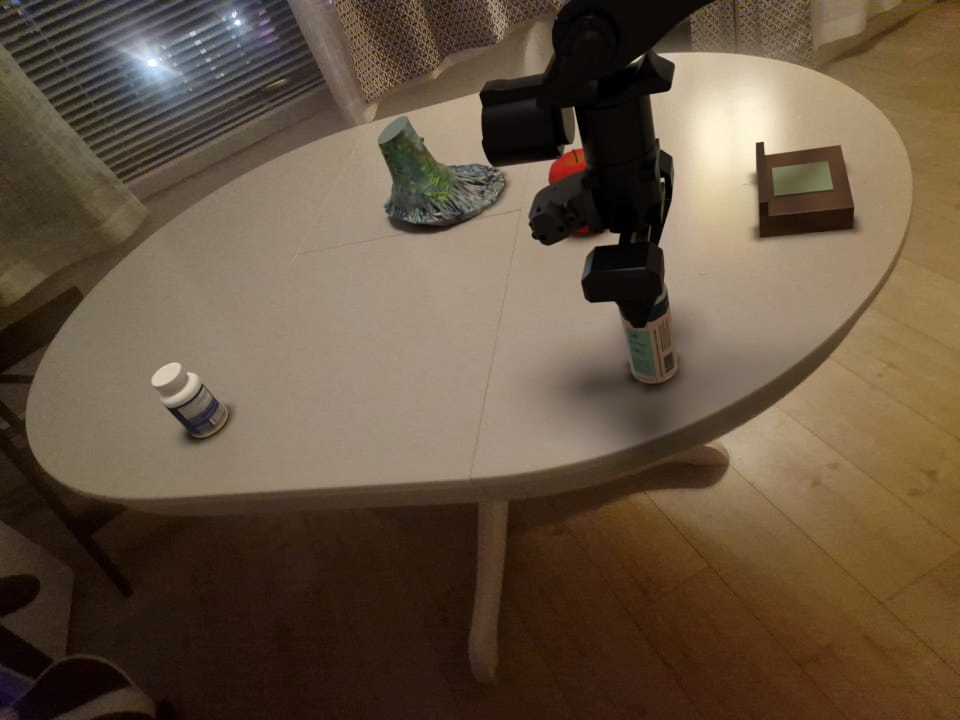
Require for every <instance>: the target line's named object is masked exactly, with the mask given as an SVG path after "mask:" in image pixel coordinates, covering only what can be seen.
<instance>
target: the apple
mask: <svg viewBox="0 0 960 720" xmlns="http://www.w3.org/2000/svg"><path fill="white" fill-rule="evenodd" d="M585 167H586V163H585V158H584V153H583V148H582V147H581V148H576V149H575V148H572V149H571V150H570V151H567V152H564V153H563V156H562V157H561V159H556V160H554V161H553V162H552V163H551V165H550V167H549V170H548V177H547V181H548V184H549V185H550V184H552V183H554V182H556V181H558V180H560V179H562V178H564V177H566V176H568V175H570V174H572V173H575V172H579V171H582V170H584V169H585ZM577 232H578V233H583V234H587V233H589V231H588V226H587V225H586V226H585V227H584V228H582V229H580V230H578V231H577Z"/></svg>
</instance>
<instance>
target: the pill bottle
mask: <svg viewBox="0 0 960 720" xmlns="http://www.w3.org/2000/svg"><path fill="white" fill-rule="evenodd" d="M150 381H151V385H152V386H153V387H154V389H156V391H157V392H158V393H159V401H160V403H161V404H162V406H164V407H165V408H166V410H167V411H168V412H169V413H170V414H171V415H172V416H173V417H174V418H175V419H176V420H177V422H179V423H180V424H181V425H182V426H183V427H184V428H185V429H186V430H187V431H188V432H189V433H190V434H191V435H192V436H193V437H195V438H198V439H204V438H208V437H210V436H212V435H214V434H216V433H217V432H218V431H219V430H221V429H222V428H223V426H224V425H225V424H226V422H227V421H228V417H229V410H228V409H227V408H226V406H225V405H224V404H223V402H222V401H221V400H220V399H219V398H218V397H217V396H216V394H215V393H214V392H213V391H212V390H211V389H210V388H209V387H208V385H206V383H205V382H204V381H203V379H201V378H200V376H199V375H197V374H196V373H194V372H188V371H187V370H186V369H185V368H184V367H183V366H182V365H181V364H180V363H179V362H170V363H167V364H165V365H163V366H162V367H160V368H159V369H158V370H157V371H155V373H154V374H153V376H152V377H151V379H150Z"/></svg>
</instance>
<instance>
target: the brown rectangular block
mask: <svg viewBox="0 0 960 720" xmlns="http://www.w3.org/2000/svg"><path fill="white" fill-rule="evenodd" d="M755 180H756V188H757V189H756V190H757V209H758V210H757V211H758V235H759V238H761V237H762V238H763V237H773V236H774V237H775V236H784V235H795V234H806V233H816V232H827V231H829V232H830V231H839V230H850V229H853V226H854V218H855V217H854V216H855V203H854V197H853V193H852V189H851V185H850V180H849V176H848V171H847V167H846V162H845V159H844V153H843V149H842V145H841V144H836V145H829V146H822V147H816V148H815V147H814V148H808V149H807V148H806V149H799V150H793V151H786V152H778V153H771V154H766V150H765V141H757V142H755Z"/></svg>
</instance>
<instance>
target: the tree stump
mask: <svg viewBox="0 0 960 720" xmlns="http://www.w3.org/2000/svg"><path fill="white" fill-rule="evenodd" d="M424 142H425V137H422V136H421V135H418V133H417V131H416V130H415V128H414V126H413V125H412V123H411V121H410V119H409V117H408V116H406V115H402V116H399V117H396V118H395V119H394V120H393V121H391V122H390V123H389V124H387V125H386V127H385V128H384V129H383V130H382V131H381V133H380V134H379V136H378V139H377V144H378V147H379V150H380V153H381V155H382V157H383V159H384V162H385V164H386V167H387V168H388V172H389V174H390V177H391V181H392V185H391V188H390V189H391V191H390V194H391V195H390V196H389V197H388V198H386V200H384V202H383V204H382V207H383V208H384V209H385V210H384V212H385V213H386V214H387V215H389V216H390V217H391V218H392V219H398V220H400V221H403V222H406V223H409V224H414V225H417V226H418V225H420V226H431V227H449V226H452V225H457V224H460V223H462V222H464V221H467V220H469V219H472V218H474V217H476V216H478V215H480V214H481V213H482V212H483V211H485V210H486V209H487V208H489V207H491V206H492V205H494V204H495V203H496V202H497V201H498V199H499V198H500V196H501V195H502V193H503V191H504V189H505V188H506V181H505V174H504V171H500V170H499V169H498V168H495V167H493V166H490V165H489V166H488V165H484V164H480V163H469V164H467V165H466V164H463V165H462V164H461V165H460V164H459V165H457V164H452V165H446V164H445V163H443V162H438V161H437V160H436V159H435V158H434V156H433V155H432V153H431V152H430V151H429V150H428V147H427V146H426V144H425V143H424Z"/></svg>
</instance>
